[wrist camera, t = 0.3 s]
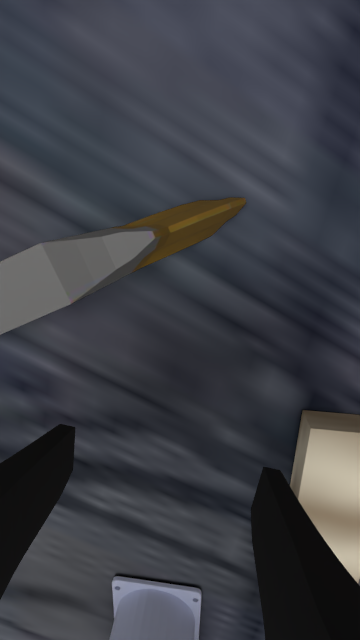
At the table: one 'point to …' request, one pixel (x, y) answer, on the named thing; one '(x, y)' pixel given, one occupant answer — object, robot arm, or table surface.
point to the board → (331, 481)
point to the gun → (100, 258)
